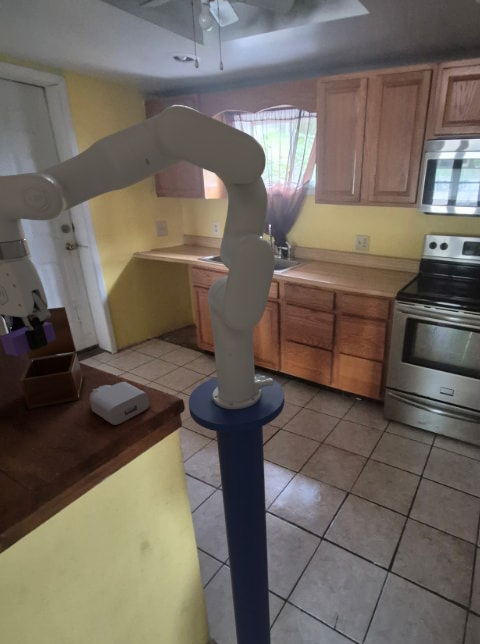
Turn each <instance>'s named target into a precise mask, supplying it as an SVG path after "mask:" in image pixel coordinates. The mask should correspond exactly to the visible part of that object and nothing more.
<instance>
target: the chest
mask: <svg viewBox="0 0 480 644" xmlns="http://www.w3.org/2000/svg"><path fill="white" fill-rule="evenodd" d="M83 378H84V376H83V373H82V369H81V365H80V361H79V357H78V354H77V352H71V353H64V354H58V355H51V356H44V357H38V358H31V359H29V360H28V362H27V364H26V366H25V369H24V371H23V372H22V374H21V377H20V379H19V385H20V387H21V390H22V393H23V396H24V399H25V403H26V405H27V409H28V410H30V409H31V410H32V409H36V408H41V407H47V406H50V405H51V406H52V405H57V404H61V403H67V402H72V401H78V400H80V396H81V390H82V385H83V380H84V379H83Z"/></svg>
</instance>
